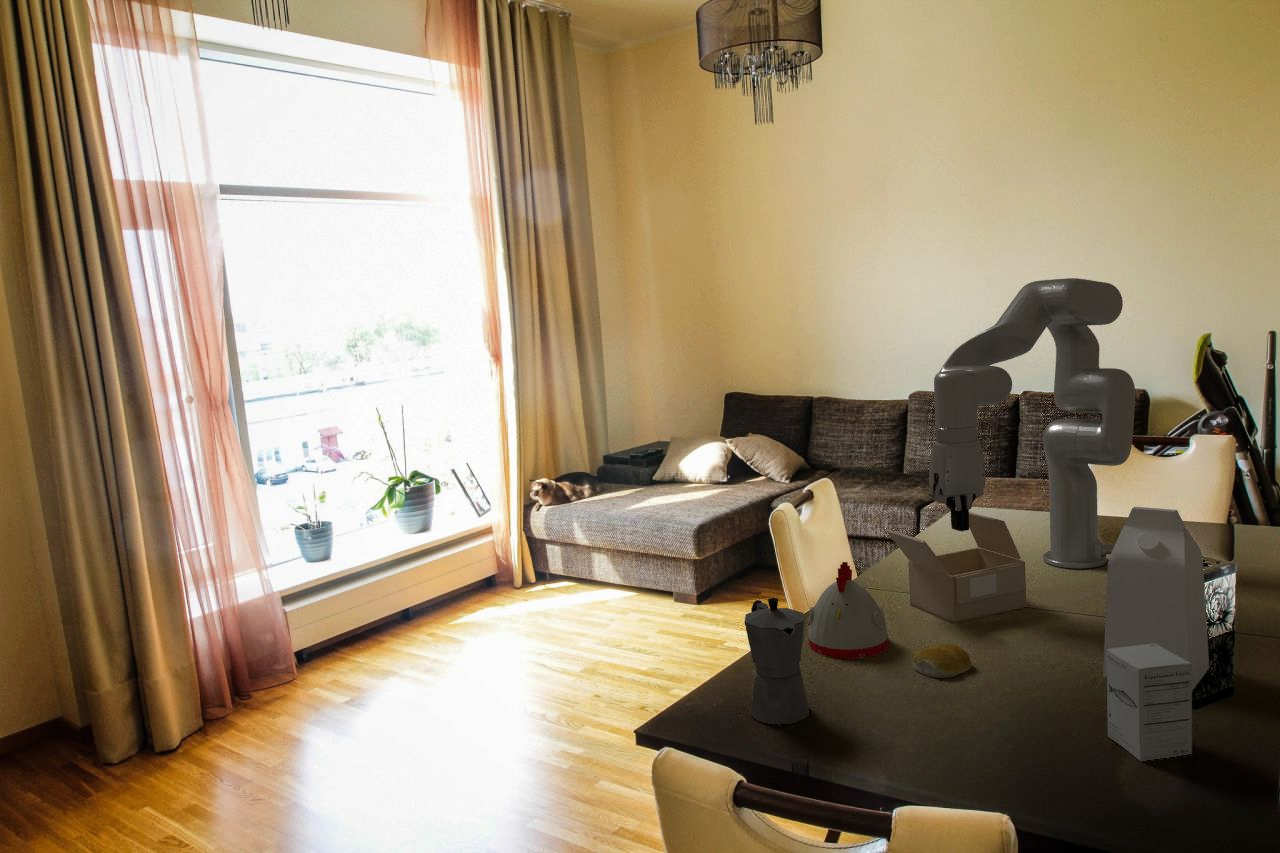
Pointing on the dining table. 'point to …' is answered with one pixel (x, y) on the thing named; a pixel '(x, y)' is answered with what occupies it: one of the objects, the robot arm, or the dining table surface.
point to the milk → (1157, 589)
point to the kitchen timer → (847, 620)
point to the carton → (969, 585)
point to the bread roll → (941, 661)
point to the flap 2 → (992, 535)
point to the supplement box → (1149, 701)
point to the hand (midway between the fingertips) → (960, 529)
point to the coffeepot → (776, 663)
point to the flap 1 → (917, 551)
